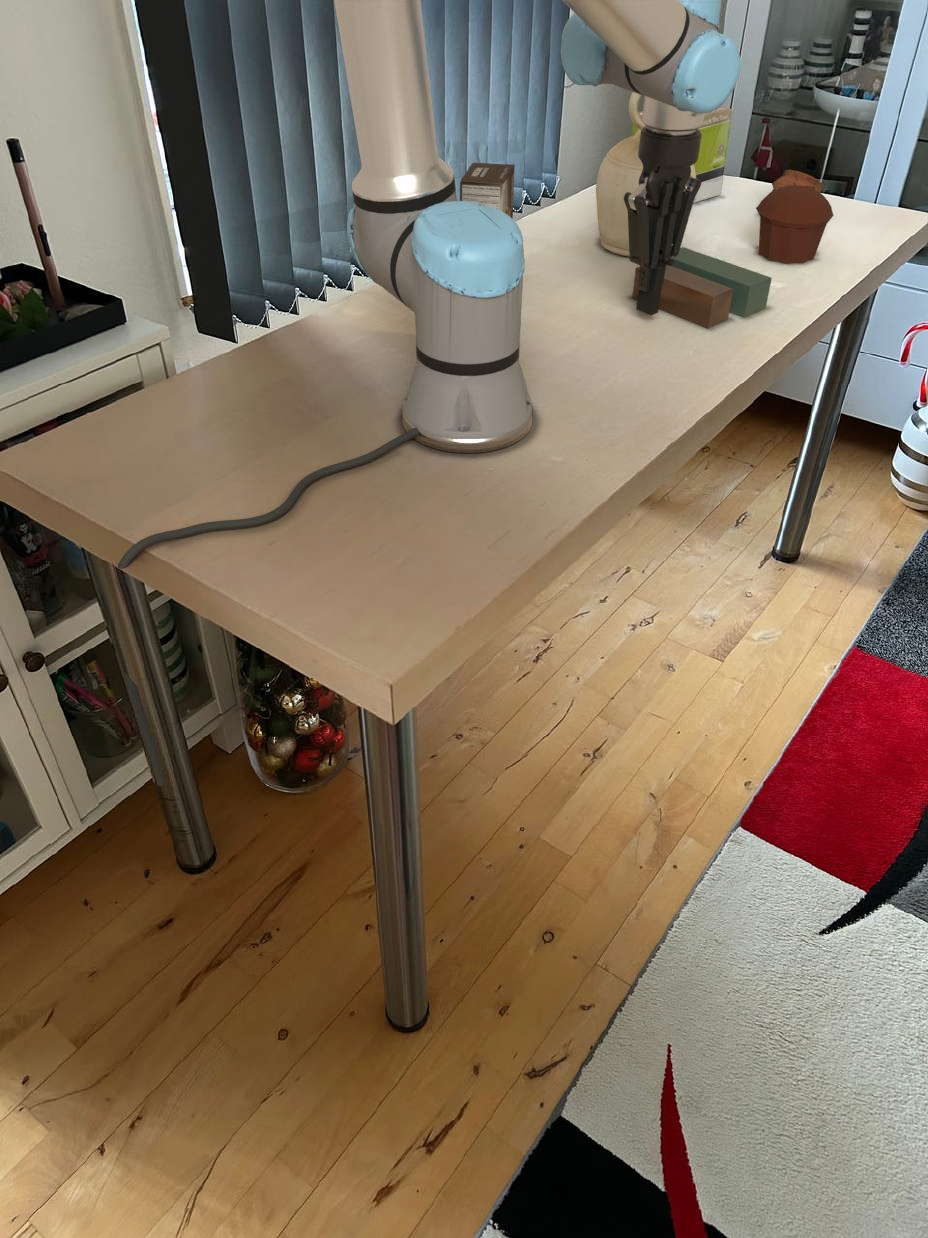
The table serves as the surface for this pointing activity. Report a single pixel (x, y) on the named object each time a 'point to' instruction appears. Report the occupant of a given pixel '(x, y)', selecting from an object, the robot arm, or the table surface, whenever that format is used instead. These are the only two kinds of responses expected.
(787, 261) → the muffin
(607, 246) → the jug
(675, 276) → the walnut bar
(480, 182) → the coffee box
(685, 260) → the green bar
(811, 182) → the bread bun
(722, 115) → the tea box
